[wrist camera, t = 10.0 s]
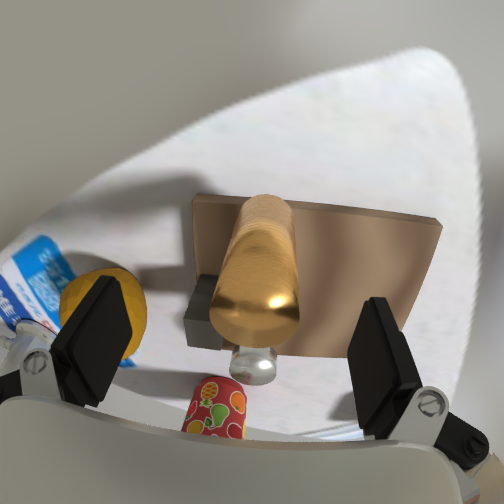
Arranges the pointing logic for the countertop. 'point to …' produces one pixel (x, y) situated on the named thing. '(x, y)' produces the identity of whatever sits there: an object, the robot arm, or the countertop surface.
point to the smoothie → (217, 409)
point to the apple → (130, 293)
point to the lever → (258, 289)
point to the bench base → (319, 269)
